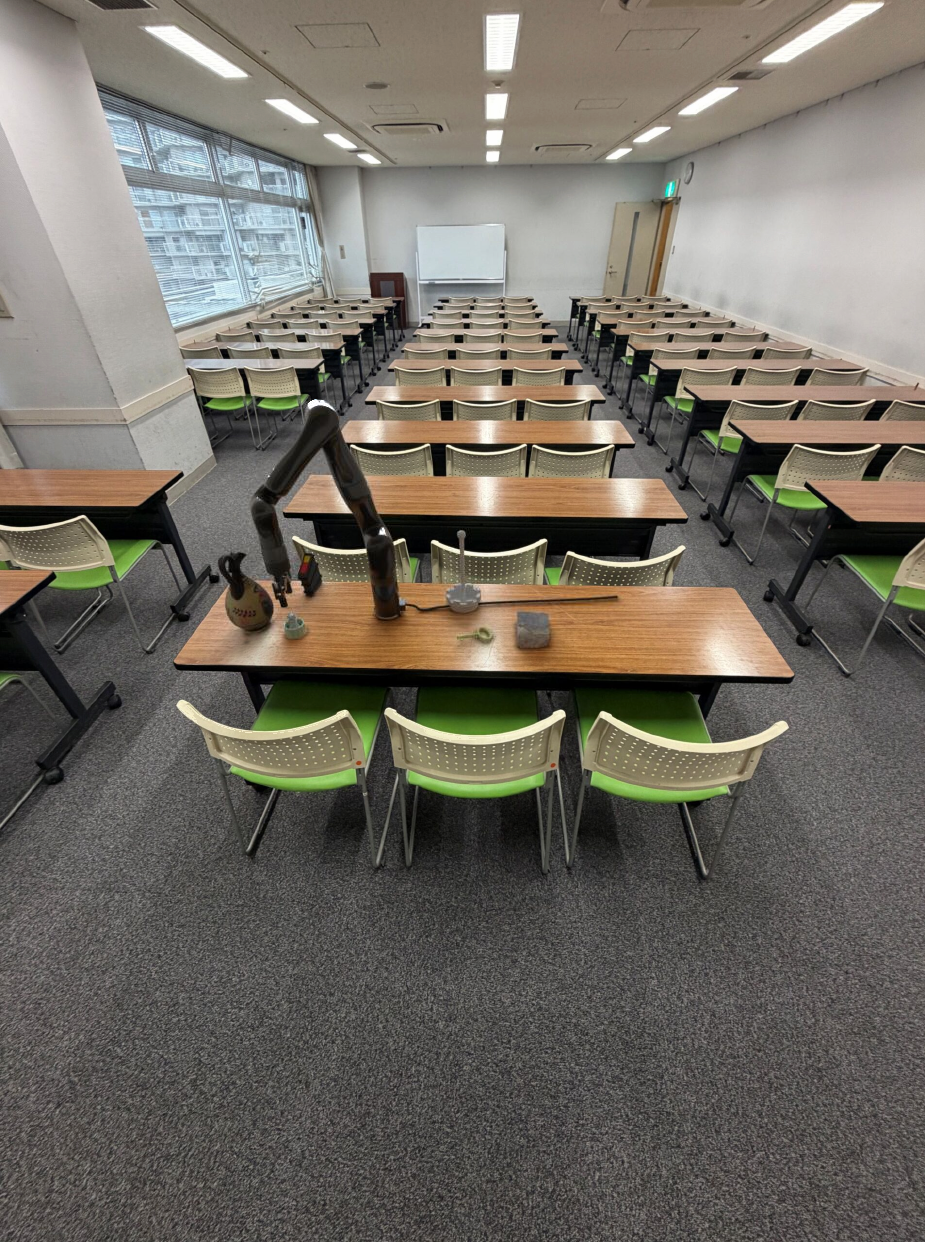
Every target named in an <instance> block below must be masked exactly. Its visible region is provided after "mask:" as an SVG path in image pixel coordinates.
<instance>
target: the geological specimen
mask: <svg viewBox="0 0 925 1242" xmlns="http://www.w3.org/2000/svg"><path fill="white" fill-rule="evenodd" d="M550 639H551V629H550V617H549V613H546V612H535V611H522V610H517V611H516V641H517V642H516V643H517V648H519V649H521V650H522V649H530V650H533V649H539V648H543V647H549V646H550Z"/></svg>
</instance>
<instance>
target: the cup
mask: <svg viewBox="0 0 925 1242" xmlns="http://www.w3.org/2000/svg"><path fill="white" fill-rule="evenodd" d="M296 618H297V623H298V625H300V627H298V628H295V629H289V628H290V622H289V621H288V620H289V619H287V620H286V621H284V623H283V629H284V633H285V637H286V638H287V639H289V640H299V639H302V638H303V637H304V636H305V635H306V634H307V628H306V624H305V621H304V619H303V618H301V617H296Z"/></svg>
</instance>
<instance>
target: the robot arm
mask: <svg viewBox="0 0 925 1242" xmlns="http://www.w3.org/2000/svg"><path fill="white" fill-rule="evenodd" d="M303 414H304V415H303V416H304V417H303V418H304V422H305V424H304V426H303V428H302V431H301V432H300V434H299V436H298V438H297V439H296V441H295V442H294V443H293V445H292V446H291V447H290V449H288V451H287V452H286V453H285V454H284V455H282V456H281V458H279V460H278V462H277V463H276V464H275V466H274V467H273V468H272V470H271V472H270V473H269V475H268V476H267V478H266V480H264V482H263V483H262V484H261V485H260V486H259V487H258V488H257V489H256V491H255V492H254V493H253V494H252V496H251V498H250V500H249V511H250V512H249V513H250V516H251V519H252V522H253V525H254V528H255V530H256V533H257V534H256V535H257V538H258V543H259V547H260V550H261V551H260V552H261V556H262V560H263V562H264V566H265V570H266V573H267V574H269V576H273V582H271V587H272V590H273V594H274V599H275V601H278V602H279V606H280V608H282V609H284V608H285V609H286V608H288V606H289V604H288V599H287V595H292V594H293V588H292V584H291V583H292V580H291V579H292V573H291V568H292V566H291V562H290V557H289V553H288V549H287V547H286V544H285V540H284V538H283V532H282V530H281V528H280V525H279V519H278V514H277V509H276V506H277V504H278V503H279V502H280V500H281V499H282V498H284V497H286V496H287V495H288V494H289V493H290V492H291V490H292V489H293V487H294V486H295V484H296V483H297V481H298V480H299V479H300V477H301V475H302V474H303V472H304V471H305V469H306V468H307V467H308V465H309V464H310V462H312V460H313V459H314V457H315V456H316V455H317V454H318V453H319V451H321V450H322V452H323V454H324V458H325V460H326V463H327V466H328V470H329V472H330V475H331V477H332V480H333V482H334V484H335V487H336V488H337V490H338V493H339V495H340V497H341V498H342V501H343V502H344V504H345V505H346V507H347V508H348V510H349V511H350V512H351V513H352V515H353V516H354V518H355V520H356V523H357V524H358V526H359V530H360V532H361V535H362V538H363V542H364V547H365V550H366V556H367V558H366V559H367V564H368V573H369V580H370V586H371V593H372V600H373V605H374V607H373V611H374V614H375V617H376V618H377V619H378V620H381V621H391V620H394V619H397V618H399V617H400V618H401V617H402V612H406V610H407V607H410V608H415V610H417V611H419V612H429V611H434V610H438V609H447V608H450V605H449V604H443V605H436V606H432V607H426V608H421V607H419V606H418V605H416V604H413V603H407V601H406V598H405V597H403V598H401V596H400V588H399V583H398V575H397V561H396V550H395V549H396V548H395V543H394V540H393V537H392V535H391V533H390V531H389V529H388V527H387V526H386V524H385V523H384V521H383V520H382V517H381V516H380V514H379V512H378V510H377V508H376V505H375V500H374V497H373V494H372V491H371V488H370V486H369V483H368V481H367V479H366V476H365V474H364V472H363V470H362V468H361V466H360V464H359V462H358V461H357V459H356V457H355V456H354V454H353V452H352V451H351V449H350V448H349V447H348V444H347V442H346V440H345V437H344V435H343V432H342V430H341V427H340V425H341V421H340V416H339V413H338V411H336V409H335V408H334V406H333V405H332V404H330V402H328V401H326V400H322V399H314V400H312V401H310V402H309V403H308V404H307V405H306V407H305V409H304V413H303ZM618 598H619V596H618V595H608V596H605V595H604V596H595V597H594V596H591V597H575V598H573V597H572V598H549V599H547V598H545V599H517V600H497V601H479V603H478V606H484V605H502V604H526V603H527V604H528V603H554V602H555V603H556V602H557V603H558V602H579V601H597V600H598V601H599V600H612V599H618Z"/></svg>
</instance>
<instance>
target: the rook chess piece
mask: <svg viewBox="0 0 925 1242" xmlns="http://www.w3.org/2000/svg"><path fill="white" fill-rule="evenodd" d="M286 618H287V620H288V621H289V622H290V628H289V629H295V628H298V627H300V625H298V623H297V618H298V617H297V614H296V612H294V611H290V612H288V613H287V615H286Z"/></svg>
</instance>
